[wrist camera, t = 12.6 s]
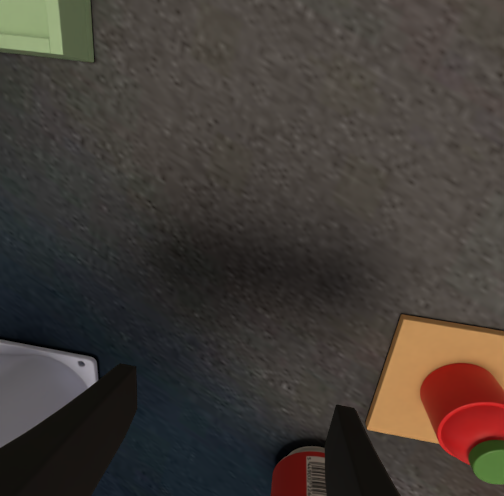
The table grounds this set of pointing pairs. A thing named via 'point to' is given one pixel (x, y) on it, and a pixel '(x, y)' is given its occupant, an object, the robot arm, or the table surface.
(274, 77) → the table surface
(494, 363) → the mat
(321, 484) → the beverage can
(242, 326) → the table surface
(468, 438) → the red cylinder green cap
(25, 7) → the tray
